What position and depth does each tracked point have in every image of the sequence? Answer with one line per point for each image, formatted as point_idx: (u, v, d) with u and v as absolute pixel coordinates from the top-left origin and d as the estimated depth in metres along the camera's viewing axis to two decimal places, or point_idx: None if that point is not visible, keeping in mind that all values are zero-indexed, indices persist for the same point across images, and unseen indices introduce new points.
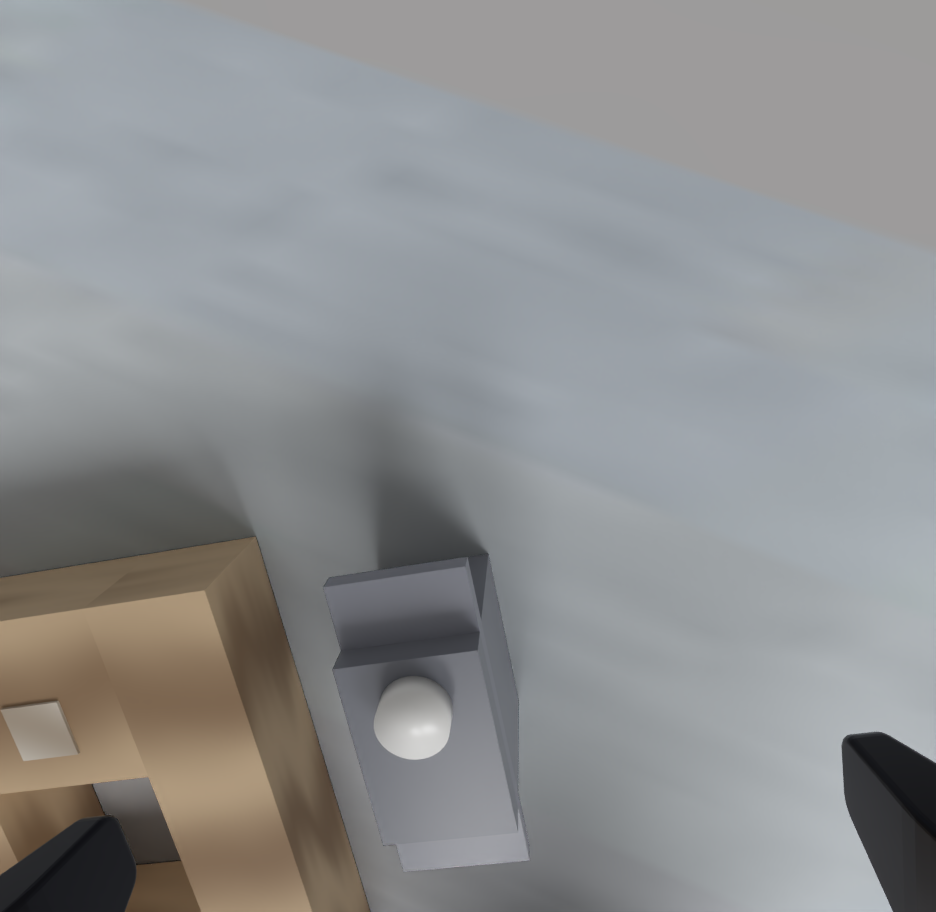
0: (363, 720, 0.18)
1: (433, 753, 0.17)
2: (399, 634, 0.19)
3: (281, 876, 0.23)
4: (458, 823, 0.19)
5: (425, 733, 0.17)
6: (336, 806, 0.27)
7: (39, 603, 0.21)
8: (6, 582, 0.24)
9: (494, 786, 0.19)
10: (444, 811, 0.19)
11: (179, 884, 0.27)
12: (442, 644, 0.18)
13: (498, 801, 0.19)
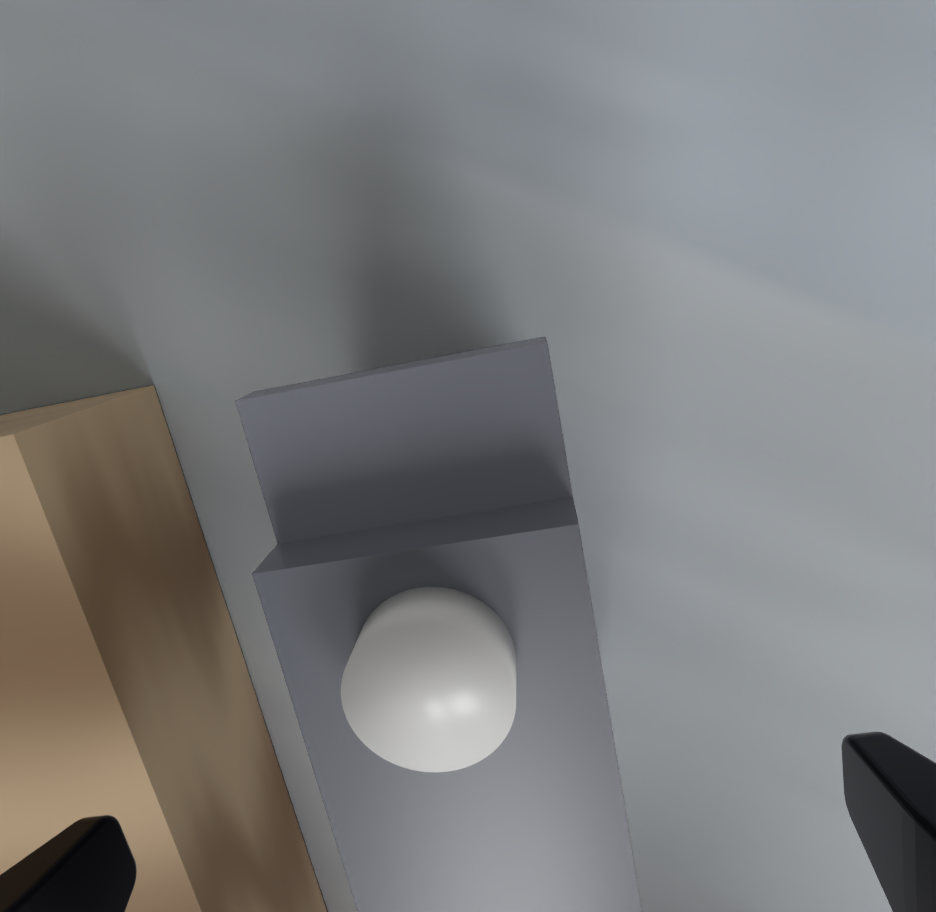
0: (322, 687, 0.09)
1: (476, 758, 0.08)
2: (399, 505, 0.09)
3: None
4: (520, 900, 0.09)
5: (458, 712, 0.08)
6: (299, 837, 0.17)
7: None
8: None
9: (599, 827, 0.09)
10: (492, 876, 0.09)
11: None
12: (493, 521, 0.08)
13: (606, 858, 0.09)
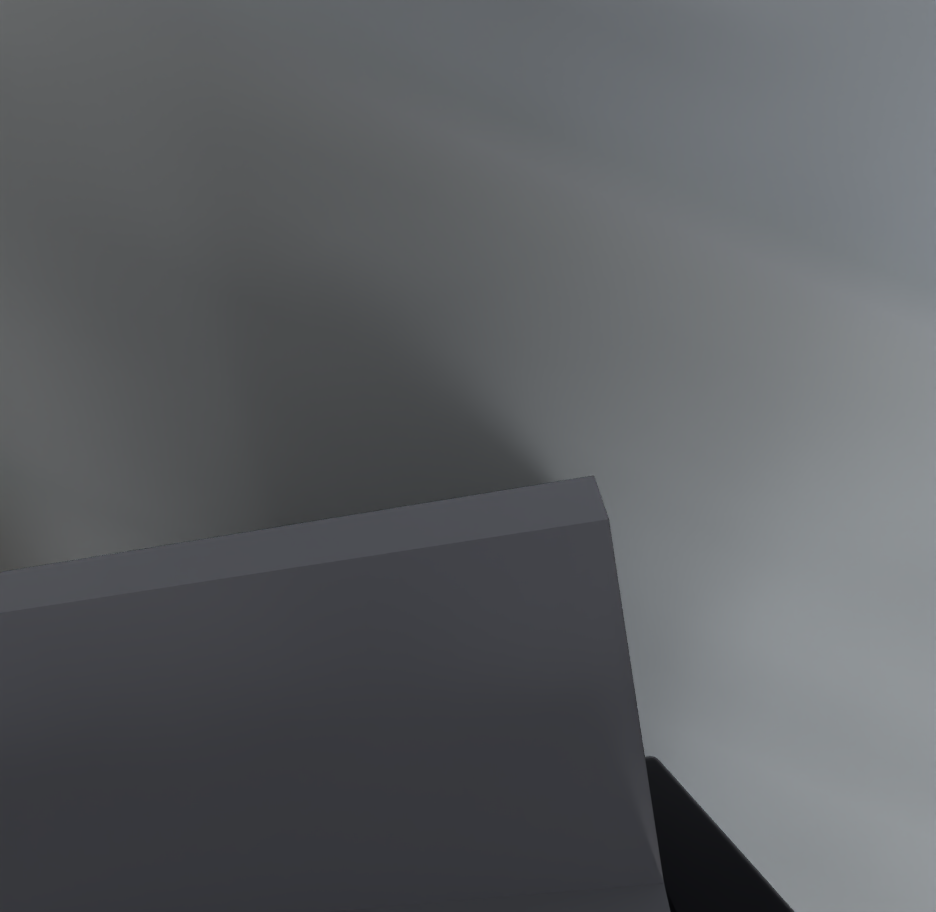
0: None
1: None
2: (236, 882, 0.04)
3: None
4: None
5: None
6: None
7: None
8: None
9: None
10: None
11: None
12: None
13: None
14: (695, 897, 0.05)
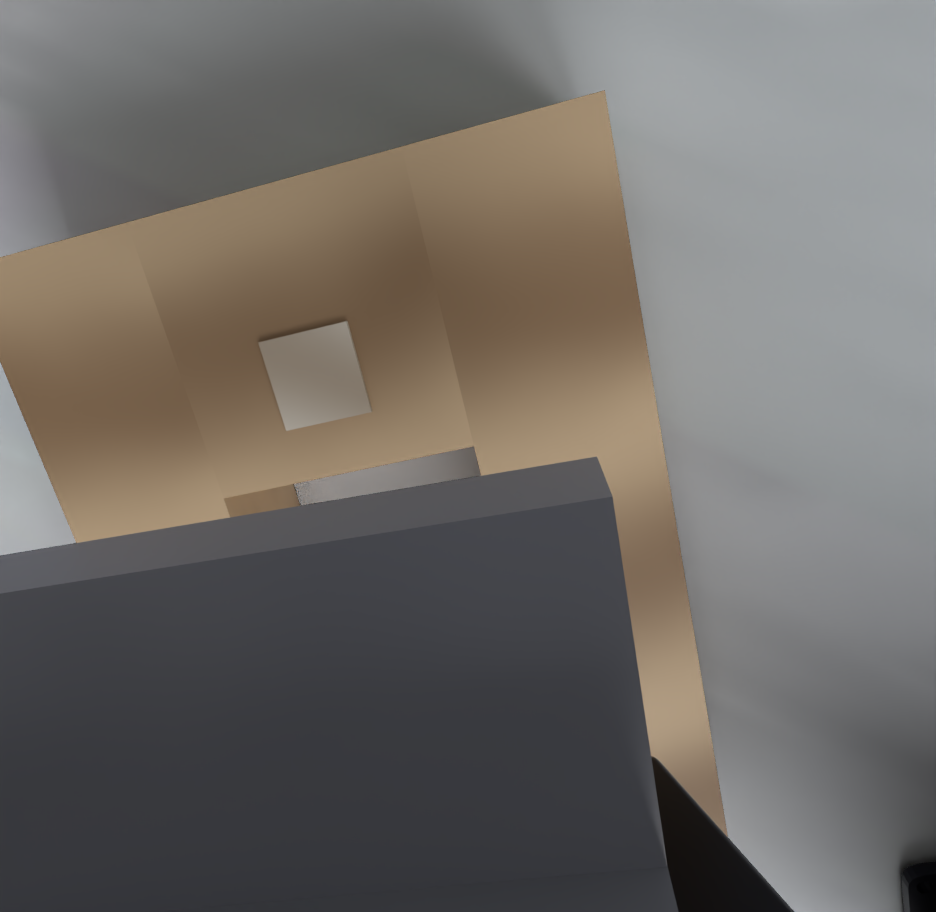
0: None
1: None
2: (237, 866, 0.04)
3: (659, 602, 0.15)
4: None
5: None
6: None
7: None
8: None
9: None
10: None
11: None
12: None
13: None
14: (695, 897, 0.05)
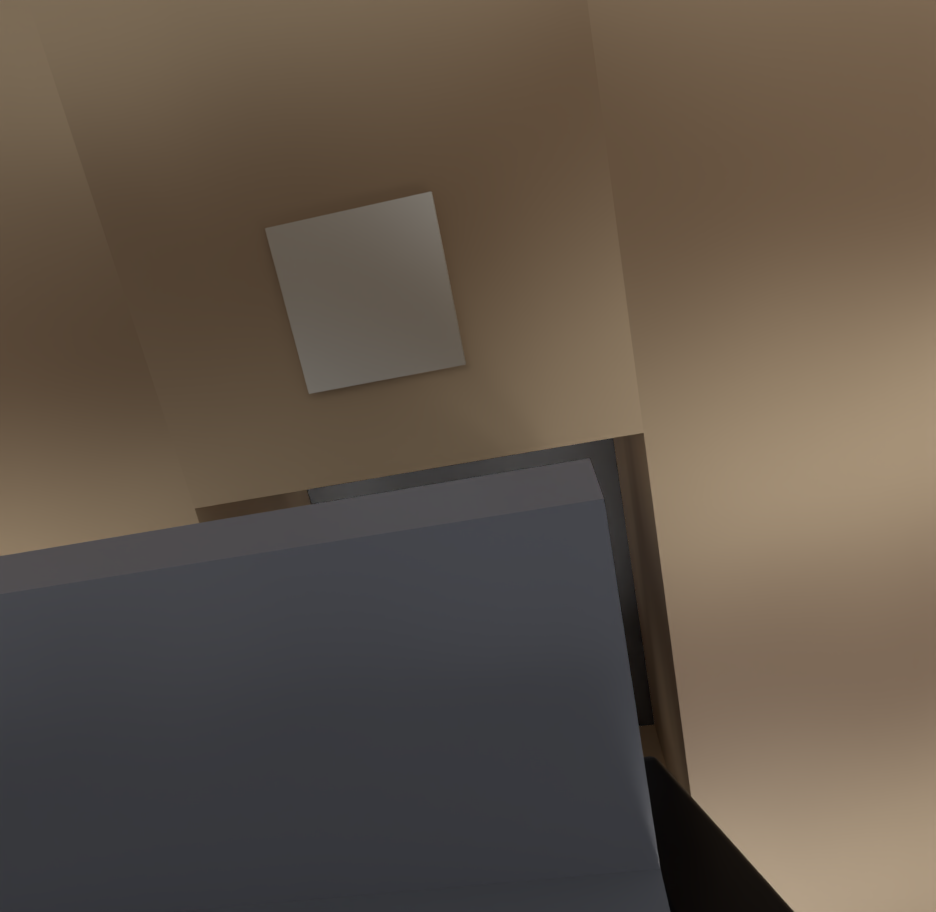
0: None
1: None
2: (230, 866, 0.04)
3: (934, 711, 0.09)
4: None
5: None
6: None
7: None
8: None
9: None
10: None
11: None
12: None
13: None
14: (695, 897, 0.05)
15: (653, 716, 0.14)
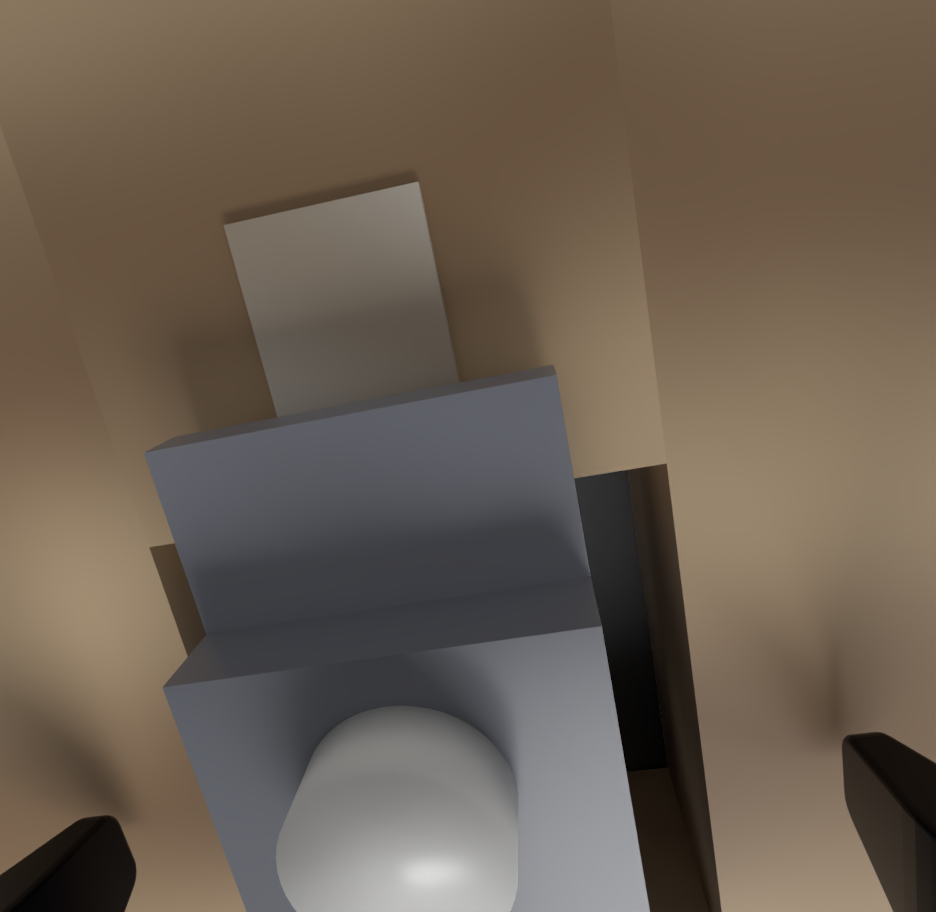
0: (261, 830, 0.06)
1: None
2: (363, 586, 0.07)
3: None
4: None
5: (438, 888, 0.05)
6: None
7: None
8: None
9: None
10: None
11: None
12: (486, 613, 0.06)
13: None
14: None
15: (667, 759, 0.13)
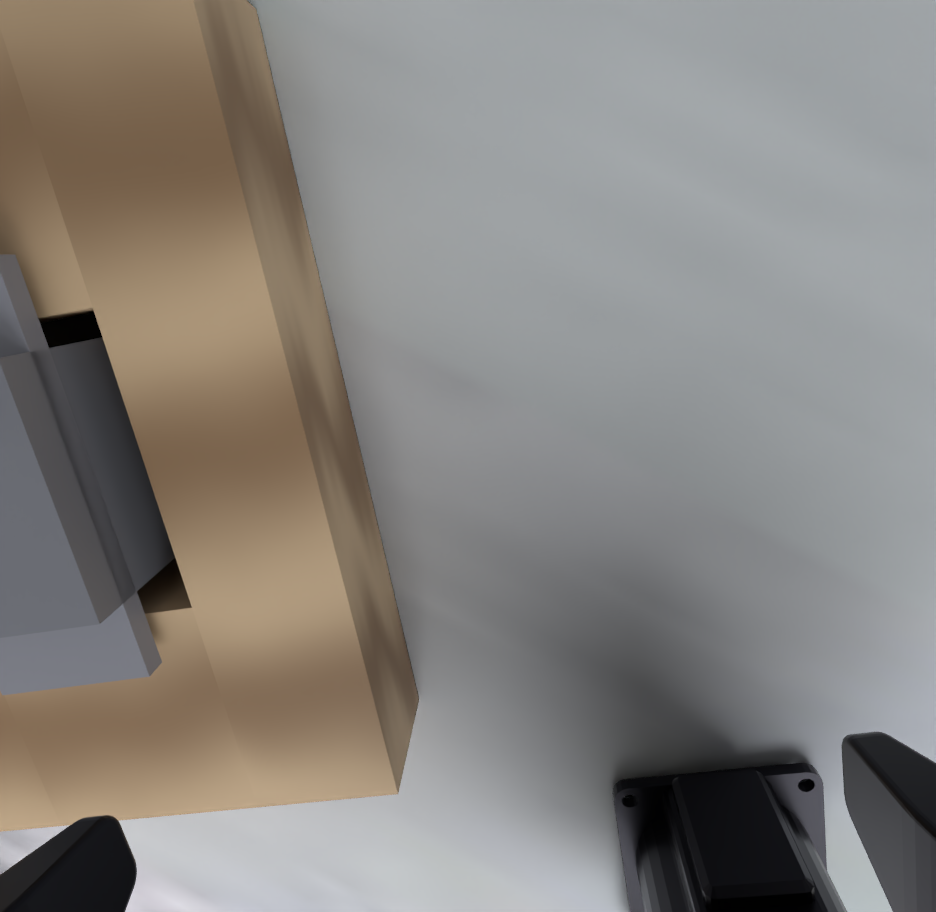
0: None
1: None
2: None
3: (288, 478, 0.16)
4: (24, 612, 0.15)
5: None
6: (361, 460, 0.19)
7: None
8: None
9: (58, 558, 0.14)
10: (4, 595, 0.15)
11: None
12: None
13: (67, 580, 0.15)
14: None
15: None
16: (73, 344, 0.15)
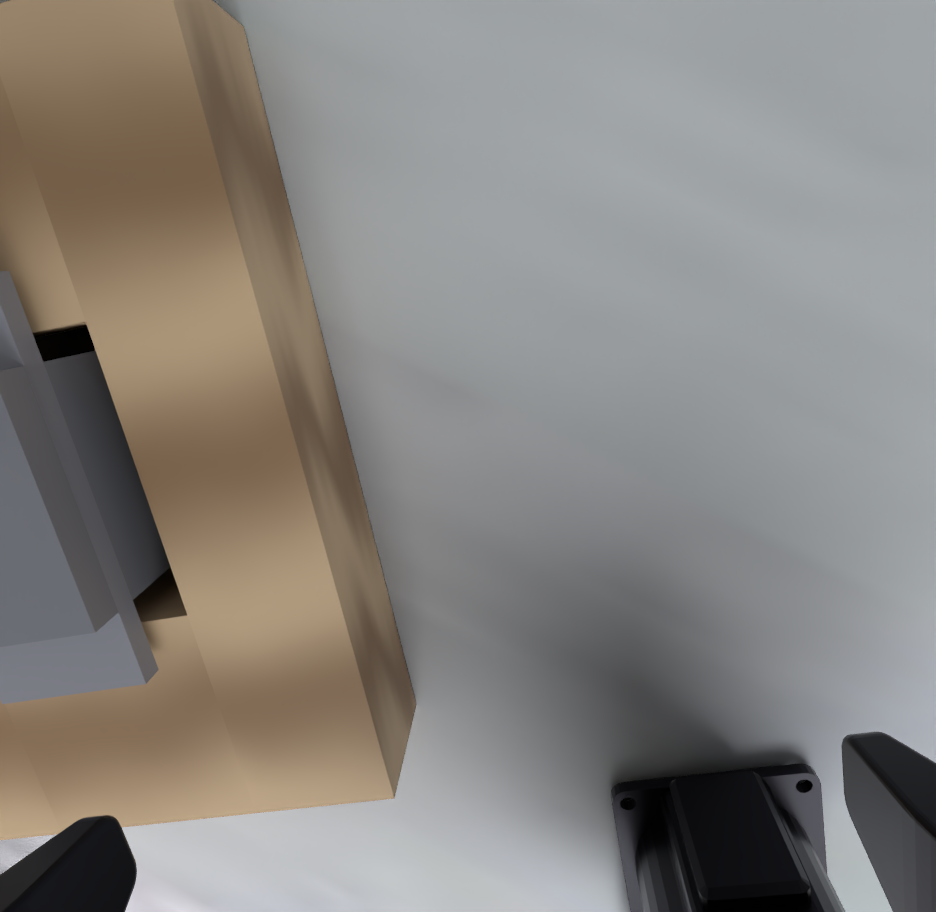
0: None
1: None
2: None
3: (280, 486, 0.16)
4: (22, 622, 0.15)
5: None
6: (354, 467, 0.20)
7: None
8: None
9: (53, 568, 0.15)
10: (1, 605, 0.15)
11: None
12: None
13: (62, 589, 0.15)
14: None
15: None
16: (67, 357, 0.16)
